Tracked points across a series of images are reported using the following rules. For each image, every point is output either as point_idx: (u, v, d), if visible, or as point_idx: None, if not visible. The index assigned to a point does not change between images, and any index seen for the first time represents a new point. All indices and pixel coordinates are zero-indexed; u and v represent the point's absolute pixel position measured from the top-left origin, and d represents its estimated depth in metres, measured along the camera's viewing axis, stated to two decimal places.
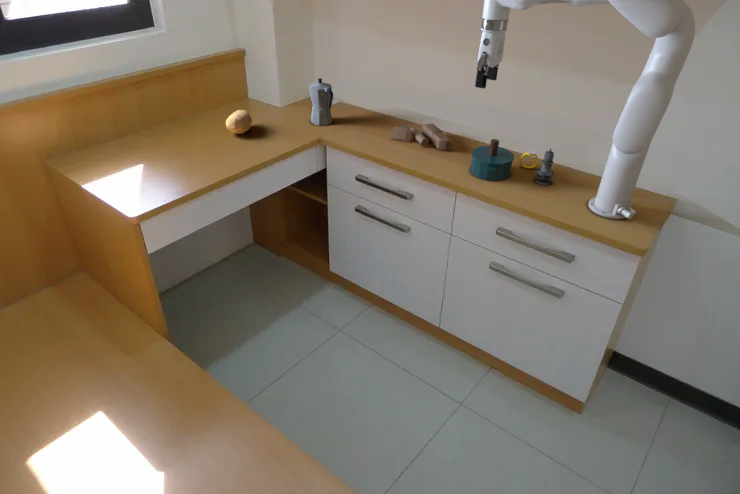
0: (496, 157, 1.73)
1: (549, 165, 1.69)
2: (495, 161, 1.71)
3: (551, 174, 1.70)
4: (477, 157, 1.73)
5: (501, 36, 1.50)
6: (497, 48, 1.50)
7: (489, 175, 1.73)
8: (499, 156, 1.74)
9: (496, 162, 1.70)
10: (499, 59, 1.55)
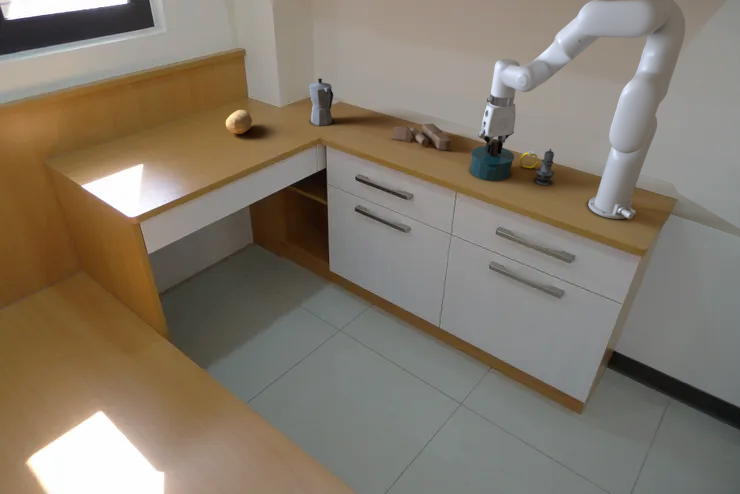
0: (496, 157, 1.73)
1: (549, 165, 1.69)
2: (495, 161, 1.71)
3: (551, 174, 1.70)
4: (477, 157, 1.73)
5: (504, 111, 1.64)
6: (496, 121, 1.65)
7: (489, 175, 1.73)
8: (499, 156, 1.74)
9: (496, 162, 1.70)
10: (505, 131, 1.68)
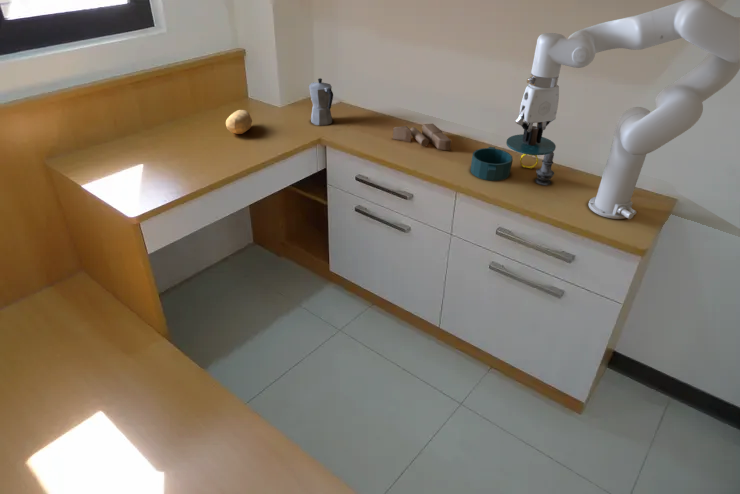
0: (535, 146, 1.53)
1: (549, 165, 1.69)
2: (534, 151, 1.50)
3: (551, 174, 1.70)
4: (514, 146, 1.53)
5: (546, 93, 1.44)
6: (537, 105, 1.45)
7: (489, 175, 1.73)
8: (538, 145, 1.54)
9: (536, 152, 1.50)
10: (546, 117, 1.48)
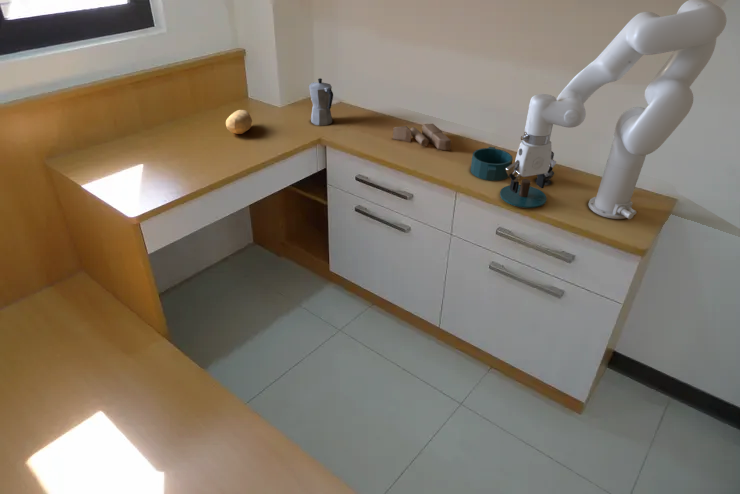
0: (527, 198, 1.61)
1: None
2: (526, 204, 1.58)
3: (551, 174, 1.70)
4: (507, 198, 1.61)
5: (539, 150, 1.51)
6: (531, 160, 1.52)
7: (489, 175, 1.73)
8: (530, 197, 1.62)
9: (528, 205, 1.58)
10: (540, 170, 1.56)
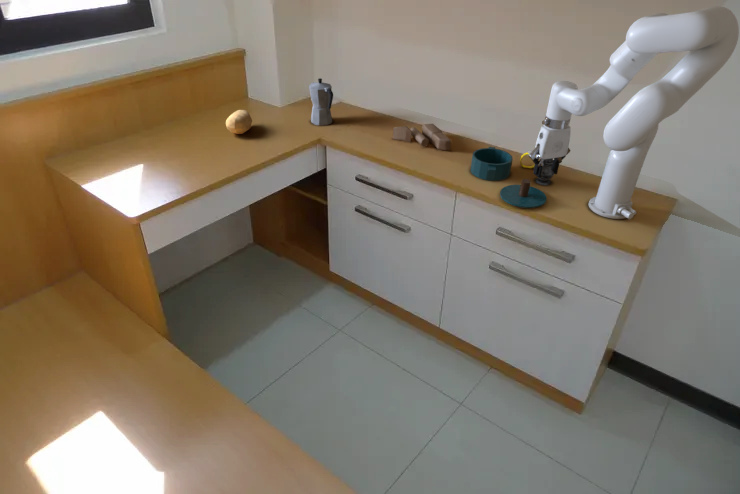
0: (527, 198, 1.61)
1: (549, 165, 1.69)
2: (526, 204, 1.58)
3: (551, 174, 1.70)
4: (507, 198, 1.61)
5: (559, 134, 1.61)
6: (551, 143, 1.62)
7: (489, 175, 1.73)
8: (530, 197, 1.62)
9: (528, 205, 1.58)
10: (559, 154, 1.65)
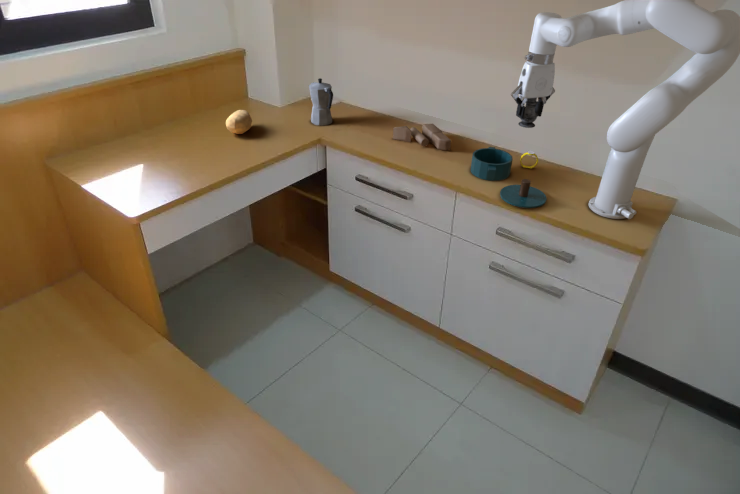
0: (527, 198, 1.61)
1: (533, 106, 1.61)
2: (526, 204, 1.58)
3: (535, 116, 1.62)
4: (507, 198, 1.61)
5: (543, 70, 1.53)
6: (534, 80, 1.54)
7: (489, 175, 1.73)
8: (530, 197, 1.62)
9: (528, 205, 1.58)
10: (542, 92, 1.57)
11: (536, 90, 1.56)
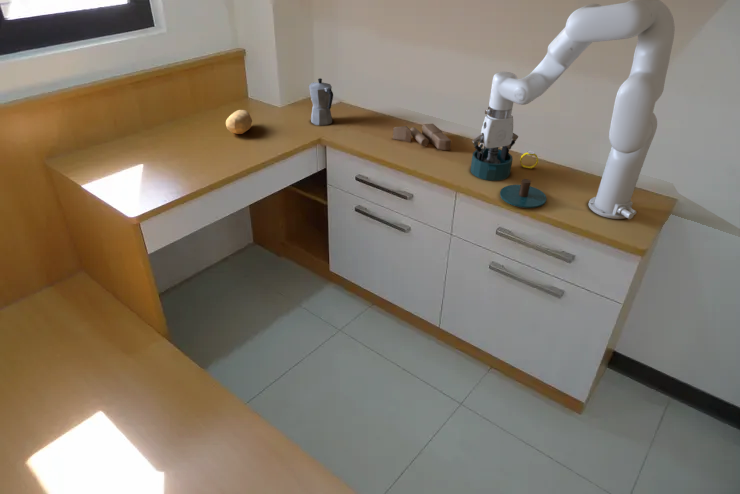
0: (527, 198, 1.61)
1: (494, 154, 1.74)
2: (526, 204, 1.58)
3: (497, 163, 1.75)
4: (507, 198, 1.61)
5: (502, 123, 1.66)
6: (494, 133, 1.67)
7: (489, 175, 1.73)
8: (530, 197, 1.62)
9: (528, 205, 1.58)
10: (503, 143, 1.70)
11: (497, 141, 1.69)
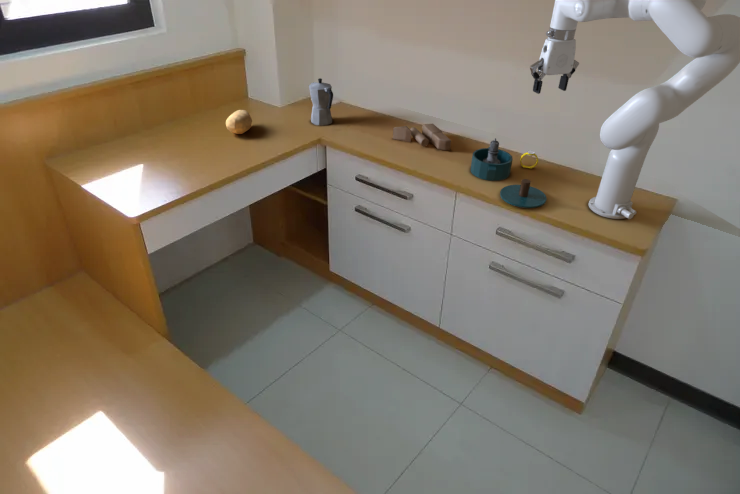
0: (527, 198, 1.61)
1: (494, 154, 1.74)
2: (526, 204, 1.58)
3: (497, 163, 1.75)
4: (507, 198, 1.61)
5: (564, 46, 1.54)
6: (556, 57, 1.55)
7: (489, 175, 1.73)
8: (530, 197, 1.62)
9: (528, 205, 1.58)
10: (563, 69, 1.58)
11: (557, 67, 1.57)
